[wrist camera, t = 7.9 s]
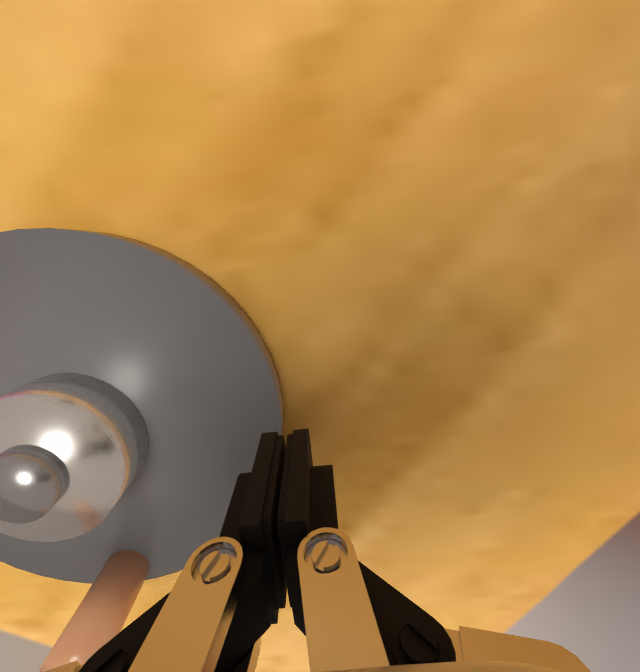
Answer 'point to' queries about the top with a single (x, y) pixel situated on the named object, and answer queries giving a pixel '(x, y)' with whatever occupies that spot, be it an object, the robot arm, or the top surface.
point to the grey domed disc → (149, 397)
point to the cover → (66, 455)
